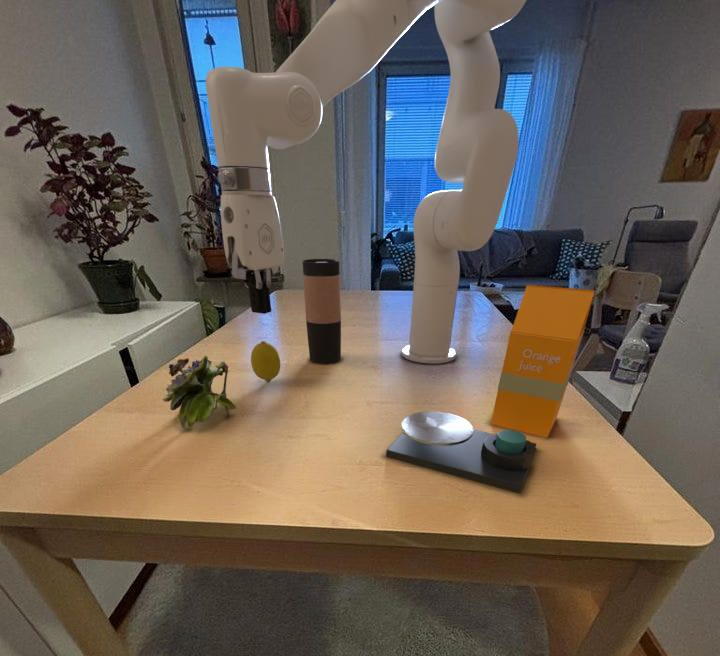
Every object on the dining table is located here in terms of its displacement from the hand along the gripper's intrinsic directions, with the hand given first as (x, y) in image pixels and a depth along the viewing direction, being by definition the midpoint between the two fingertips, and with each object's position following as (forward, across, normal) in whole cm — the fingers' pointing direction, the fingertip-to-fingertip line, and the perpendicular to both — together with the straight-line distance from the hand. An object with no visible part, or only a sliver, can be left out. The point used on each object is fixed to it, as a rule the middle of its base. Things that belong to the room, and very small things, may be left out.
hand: (261, 311), depth 71 cm
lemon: (+13, 0, +1) cm, 14 cm away
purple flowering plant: (+14, -17, 0) cm, 21 cm away
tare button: (+11, -9, -47) cm, 49 cm away
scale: (+13, -9, -41) cm, 44 cm away
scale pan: (+10, -9, -37) cm, 40 cm away
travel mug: (+13, +18, -2) cm, 23 cm away
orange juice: (+13, +6, -47) cm, 49 cm away
